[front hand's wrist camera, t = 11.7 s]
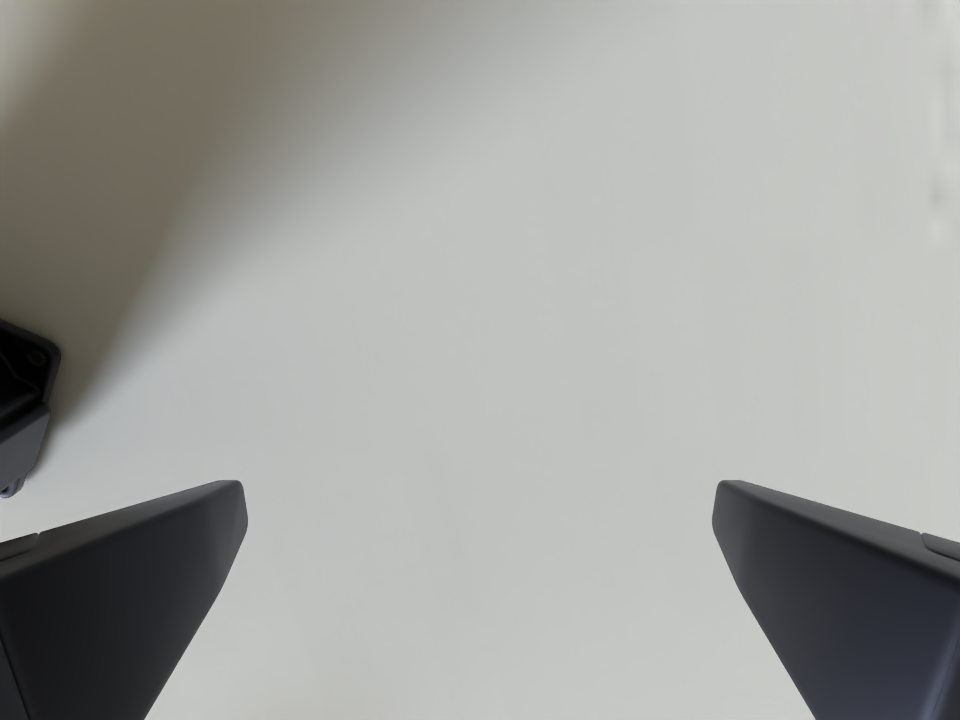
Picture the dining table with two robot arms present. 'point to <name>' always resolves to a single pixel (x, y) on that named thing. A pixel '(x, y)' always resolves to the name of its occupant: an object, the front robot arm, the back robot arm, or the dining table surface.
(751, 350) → the dining table surface
